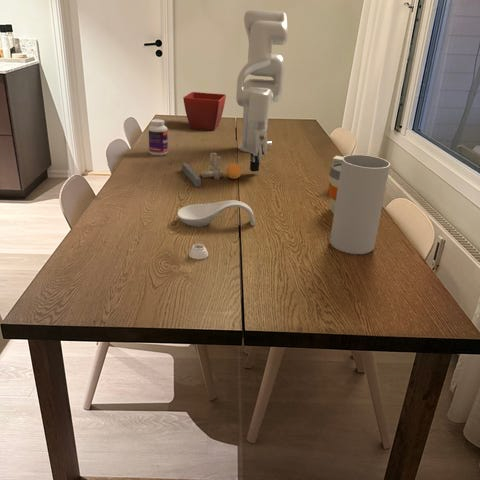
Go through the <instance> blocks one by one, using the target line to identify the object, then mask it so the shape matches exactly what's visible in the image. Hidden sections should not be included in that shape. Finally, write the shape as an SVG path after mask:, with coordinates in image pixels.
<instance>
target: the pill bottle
mask: <svg viewBox="0 0 480 480" xmlns="http://www.w3.org/2000/svg"><path fill="white" fill-rule="evenodd" d="M150 121H151V123H150V124H151V125H150V126H148V152H149V154H150V155H152V156H159V157H160V156H165V155H167V154H168V152H169V150H168V139H169V138H168V137H169V136H168V132H169V131H168V126H166V125H165V120H163V119H151V120H150Z"/></svg>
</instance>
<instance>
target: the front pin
mask: <svg viewBox="0 0 480 480" xmlns="http://www.w3.org/2000/svg"><path fill="white" fill-rule="evenodd" d="M224 174H225V173H224V170H220V178H223V177H224V176H225V175H224ZM201 177H202V178H201ZM200 178H201V179H207V178H208V179H209V178H214V171H210V170H208V171H200Z"/></svg>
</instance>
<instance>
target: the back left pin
mask: <svg viewBox="0 0 480 480" xmlns="http://www.w3.org/2000/svg"><path fill="white" fill-rule="evenodd" d="M221 160H222V157H221V156H216V157H214V177H213V180H216V181H219V180H221V177H220V171H221V164H222V162H221Z"/></svg>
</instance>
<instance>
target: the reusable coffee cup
mask: <svg viewBox="0 0 480 480" xmlns="http://www.w3.org/2000/svg"><path fill="white" fill-rule="evenodd" d="M341 164H342V163H336V164H333V165H332V164H331V166H330V171H329V177H330V178H329V180H330V181H329V182H328V196H329V211H330V210H331V211H332V212H334V210H335V204H336V197H337V191H338V184H339V177H340V171H341ZM331 211H330V212H331ZM332 212H331V213H332Z"/></svg>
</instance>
